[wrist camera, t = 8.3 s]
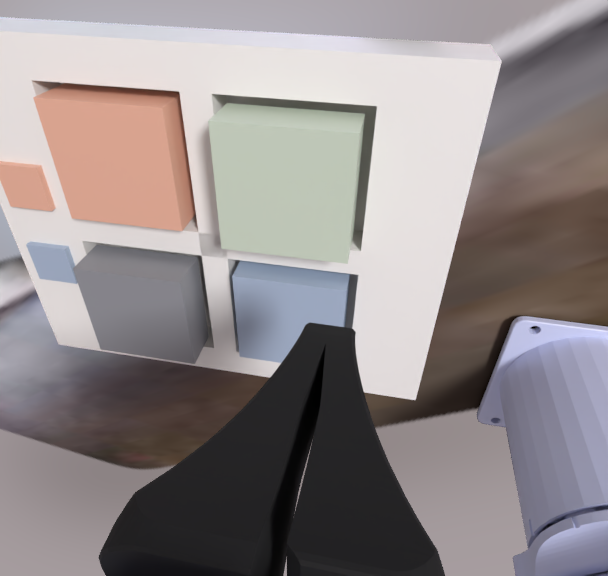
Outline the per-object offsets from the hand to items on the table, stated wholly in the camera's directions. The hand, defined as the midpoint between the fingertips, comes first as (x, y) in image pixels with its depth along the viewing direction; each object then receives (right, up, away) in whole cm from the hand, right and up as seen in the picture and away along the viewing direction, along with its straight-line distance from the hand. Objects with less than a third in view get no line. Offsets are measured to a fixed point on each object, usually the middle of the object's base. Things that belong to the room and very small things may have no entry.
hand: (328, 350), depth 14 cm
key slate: (-1, +1, +10) cm, 10 cm away
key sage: (-1, +6, +5) cm, 8 cm away
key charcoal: (-8, +2, +10) cm, 13 cm away
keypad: (-4, +5, +9) cm, 11 cm away
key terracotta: (-8, +8, +6) cm, 13 cm away
